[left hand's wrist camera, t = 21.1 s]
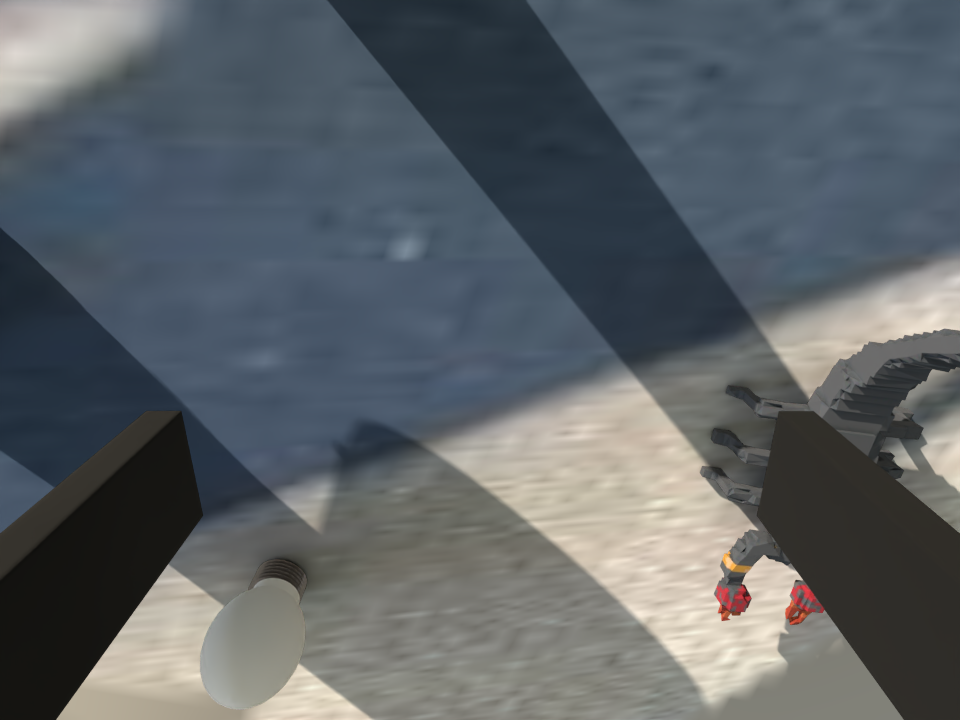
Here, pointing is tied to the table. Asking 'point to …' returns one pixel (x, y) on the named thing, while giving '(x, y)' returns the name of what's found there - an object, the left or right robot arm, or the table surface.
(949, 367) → the toy
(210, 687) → the light bulb
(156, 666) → the table surface
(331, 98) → the table surface
